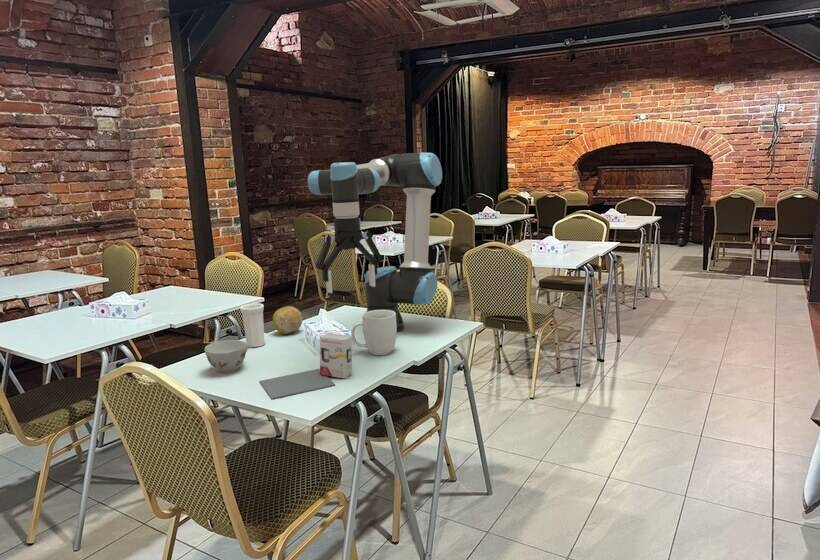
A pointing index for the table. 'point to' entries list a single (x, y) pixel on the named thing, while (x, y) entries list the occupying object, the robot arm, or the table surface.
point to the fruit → (287, 319)
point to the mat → (296, 384)
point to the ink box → (336, 355)
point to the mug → (378, 331)
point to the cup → (253, 324)
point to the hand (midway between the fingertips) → (351, 289)
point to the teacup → (226, 354)
